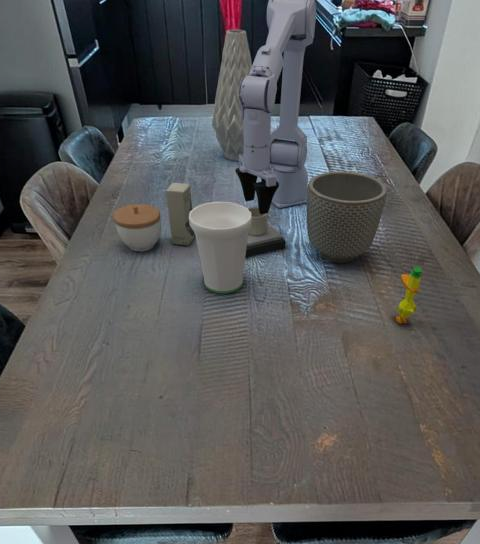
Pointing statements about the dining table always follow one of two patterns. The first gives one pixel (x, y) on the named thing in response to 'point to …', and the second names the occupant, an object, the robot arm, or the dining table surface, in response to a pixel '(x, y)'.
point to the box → (180, 213)
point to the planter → (343, 213)
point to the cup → (221, 243)
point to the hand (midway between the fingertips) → (256, 206)
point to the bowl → (258, 222)
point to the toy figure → (409, 294)
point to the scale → (264, 242)
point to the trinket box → (138, 226)
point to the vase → (231, 94)
